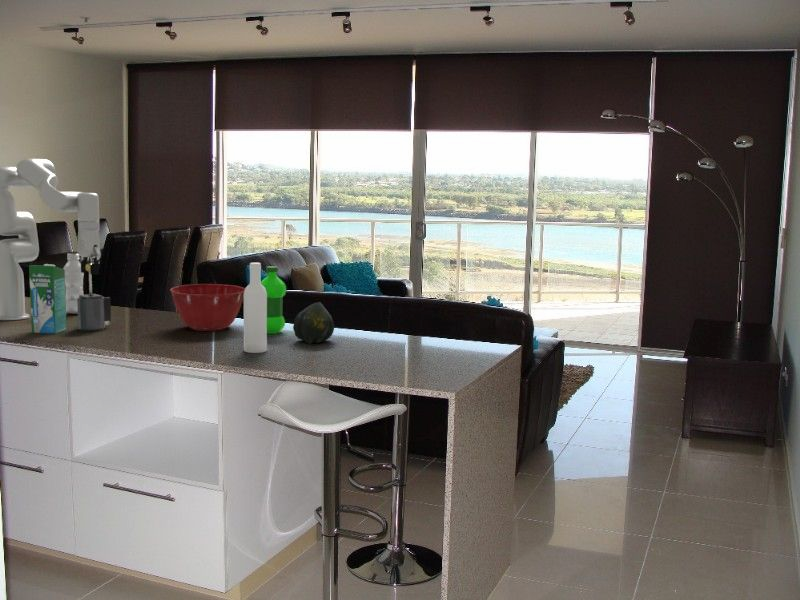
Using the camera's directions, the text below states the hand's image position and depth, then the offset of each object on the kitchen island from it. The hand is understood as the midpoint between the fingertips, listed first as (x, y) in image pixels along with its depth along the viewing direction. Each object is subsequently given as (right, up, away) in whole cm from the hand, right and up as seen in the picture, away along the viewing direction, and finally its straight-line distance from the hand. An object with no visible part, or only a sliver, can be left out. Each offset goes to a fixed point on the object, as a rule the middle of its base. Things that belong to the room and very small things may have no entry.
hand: (90, 273), depth 327 cm
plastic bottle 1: (-19, -16, +36) cm, 44 cm away
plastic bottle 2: (+67, -23, +5) cm, 71 cm away
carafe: (+1, -21, +4) cm, 21 cm away
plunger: (0, -12, +2) cm, 13 cm away
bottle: (+67, -28, -30) cm, 78 cm away
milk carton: (-14, -22, -3) cm, 26 cm away
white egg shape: (-1, -20, +13) cm, 24 cm away
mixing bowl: (+42, -21, +11) cm, 48 cm away
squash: (+85, -25, -11) cm, 89 cm away
